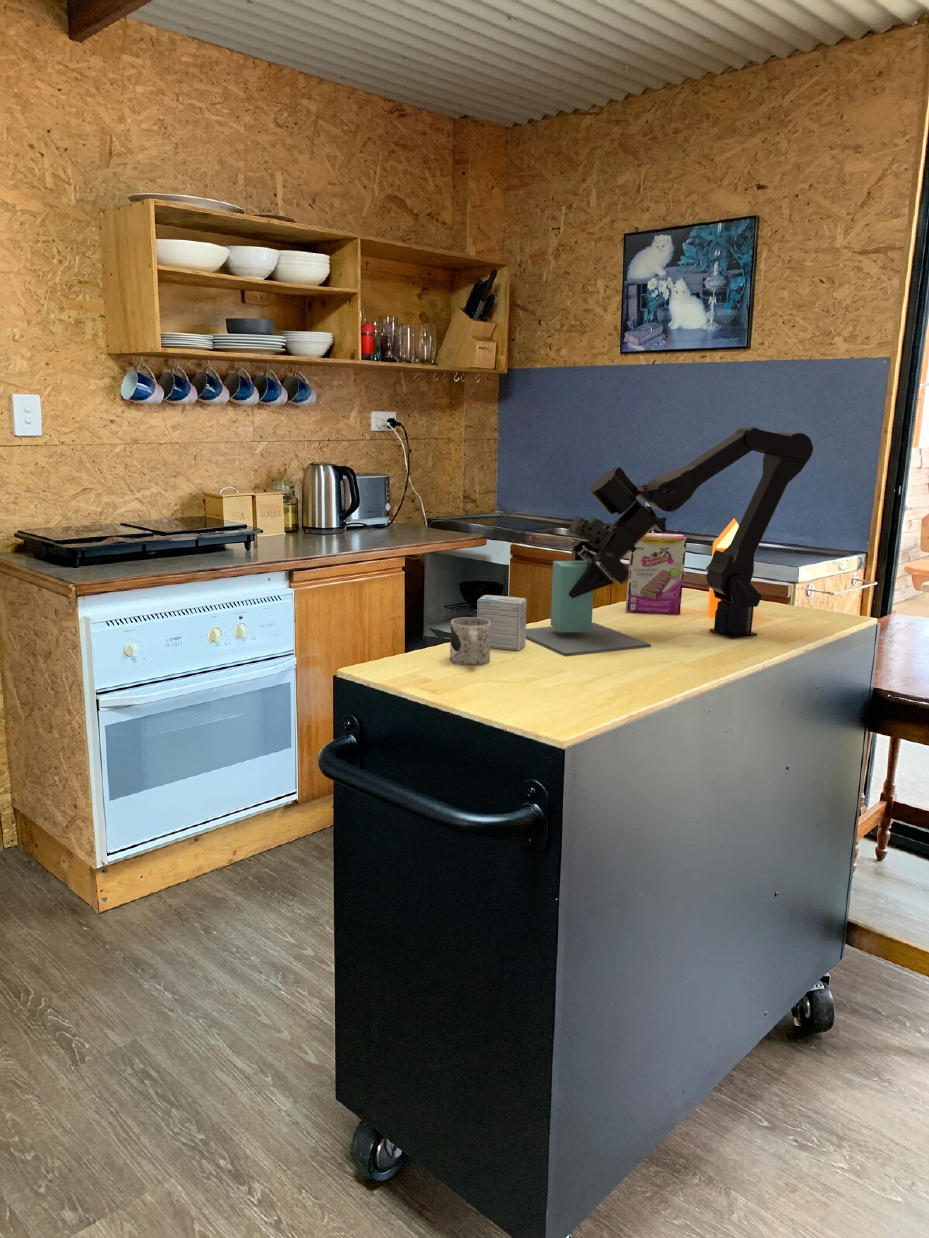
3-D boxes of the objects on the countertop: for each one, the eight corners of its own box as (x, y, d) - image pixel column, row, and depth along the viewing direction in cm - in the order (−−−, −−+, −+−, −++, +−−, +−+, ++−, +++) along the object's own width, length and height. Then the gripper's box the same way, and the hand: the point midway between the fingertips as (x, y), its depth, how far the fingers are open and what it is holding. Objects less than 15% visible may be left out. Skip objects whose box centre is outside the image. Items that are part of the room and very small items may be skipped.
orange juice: (708, 618, 191) (716, 520, 186) (706, 609, 199) (714, 516, 195) (747, 620, 189) (757, 522, 185) (744, 612, 197) (753, 518, 193)
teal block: (581, 623, 174) (584, 560, 172) (591, 631, 169) (594, 566, 166) (550, 624, 173) (553, 561, 171) (559, 632, 167) (562, 566, 165)
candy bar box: (626, 613, 193) (631, 534, 190) (625, 608, 198) (630, 531, 195) (681, 615, 192) (687, 536, 189) (678, 610, 197) (684, 533, 194)
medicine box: (525, 645, 165) (527, 598, 163) (519, 651, 161) (520, 602, 159) (483, 641, 167) (484, 594, 165) (475, 647, 163) (477, 598, 161)
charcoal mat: (593, 625, 182) (593, 622, 182) (650, 646, 166) (650, 643, 166) (513, 632, 174) (513, 630, 174) (565, 656, 158) (565, 653, 158)
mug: (448, 655, 157) (449, 616, 156) (487, 655, 158) (489, 617, 156) (452, 671, 147) (453, 631, 146) (493, 671, 148) (495, 631, 146)
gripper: (582, 495, 175) (523, 554, 176) (615, 506, 157) (549, 571, 158) (619, 537, 179) (561, 594, 179) (656, 551, 161) (592, 615, 161)
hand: (565, 592), depth 169 cm, fingers closed on teal block, 6 cm apart
